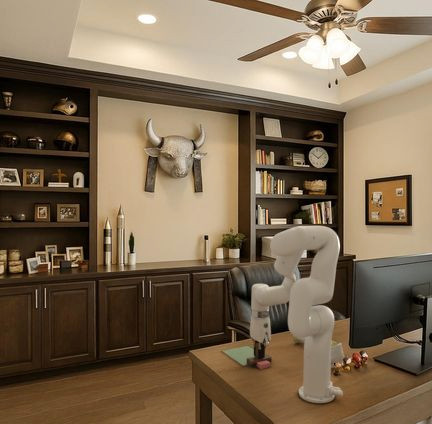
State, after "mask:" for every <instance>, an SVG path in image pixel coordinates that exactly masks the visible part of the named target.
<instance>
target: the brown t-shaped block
mask: <svg viewBox="0 0 432 424" xmlns="http://www.w3.org/2000/svg"><path fill="white" fill-rule="evenodd" d="M262 344H263V343H262ZM262 344H261V345H262ZM254 347H255V357H251V358H247V365H246V366H248V367H250V368H255V367H256V368H257V362H261V361H266V360H267V361H269V362H270V363H271V364H272V356H270V355H269V354H267V353H265V358H261V359H258V349H259V343H255V346H254Z"/></svg>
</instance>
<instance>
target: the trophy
mask: <svg viewBox="0 0 432 424" xmlns="http://www.w3.org/2000/svg"><path fill="white" fill-rule="evenodd" d="M291 338H292V341H293V342H294V343H295V344H304V342H305V338H306V337H303V338H297V337H295V336H293V335H292V337H291ZM339 343H340V342H338V341H335V340H333V339H332V340H331V354H332V351H333V348H334V346H335V345H338V344H339ZM331 364H332V362H331Z"/></svg>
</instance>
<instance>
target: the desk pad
mask: <svg viewBox="0 0 432 424" xmlns="http://www.w3.org/2000/svg"><path fill="white" fill-rule="evenodd" d="M222 352H223V353H224V354H225V355H227V356H228V357H230V358H231V359H232V360H234V361H235V362H237V363H238V364H240V365H241V366H242V367H245V366H248V365H247V358H251V357H255V356H254V348H252V347H251V346H250V345H244V346H239V347H234V348H233V347H232V348H229V349H222Z"/></svg>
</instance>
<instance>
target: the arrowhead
mask: <svg viewBox="0 0 432 424" xmlns="http://www.w3.org/2000/svg"><path fill="white" fill-rule="evenodd" d="M338 343H339V344H338V345H337V344H335V346H334V348H333V351H332V354H331V362H332V363H331V369H334V368H335V366H334V363H338V362H339V363H342V362H343V360H344V358H345V359H346V356H345V354H344V350H343V343H342V342H338ZM343 366H344V367H345V363H344V364H343V365H342V366H341V367H343ZM335 369H336V368H335Z"/></svg>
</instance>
